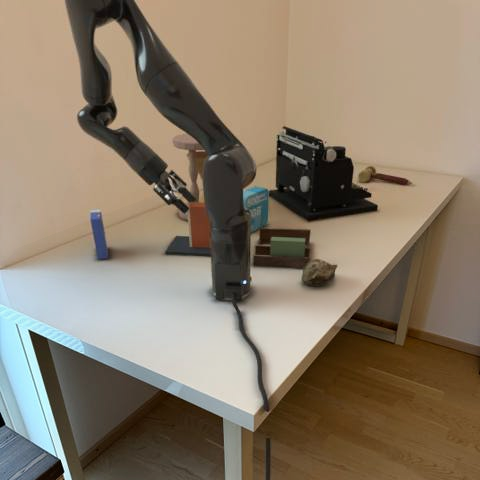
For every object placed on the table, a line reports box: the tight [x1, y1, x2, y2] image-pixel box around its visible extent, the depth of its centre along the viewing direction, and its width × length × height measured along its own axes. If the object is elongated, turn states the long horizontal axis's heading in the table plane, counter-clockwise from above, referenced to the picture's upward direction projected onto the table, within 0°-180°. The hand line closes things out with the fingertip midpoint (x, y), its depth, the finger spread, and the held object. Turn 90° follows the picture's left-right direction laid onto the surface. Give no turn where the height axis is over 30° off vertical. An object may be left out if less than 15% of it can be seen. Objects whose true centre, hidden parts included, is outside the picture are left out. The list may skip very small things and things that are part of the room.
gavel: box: [357, 165, 413, 186], centre depth 191 cm, size 21×5×10 cm
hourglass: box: [172, 133, 208, 221], centre depth 154 cm, size 18×18×25 cm
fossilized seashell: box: [301, 258, 338, 287], centre depth 116 cm, size 8×7×10 cm
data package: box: [243, 185, 270, 233], centre depth 145 cm, size 12×4×12 cm, turn 142°
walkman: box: [89, 209, 109, 260], centre depth 129 cm, size 8×3×12 cm, turn 14°
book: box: [187, 202, 210, 248], centre depth 132 cm, size 4×10×12 cm, turn 82°
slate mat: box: [164, 235, 211, 257], centre depth 136 cm, size 12×20×1 cm, turn 82°
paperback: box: [270, 237, 306, 257], centre depth 124 cm, size 2×9×7 cm, turn 82°
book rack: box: [252, 227, 311, 269], centre depth 130 cm, size 17×15×4 cm
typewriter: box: [268, 125, 379, 223], centre depth 163 cm, size 31×27×25 cm
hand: (190, 206), depth 130 cm, fingers open, 8 cm apart
